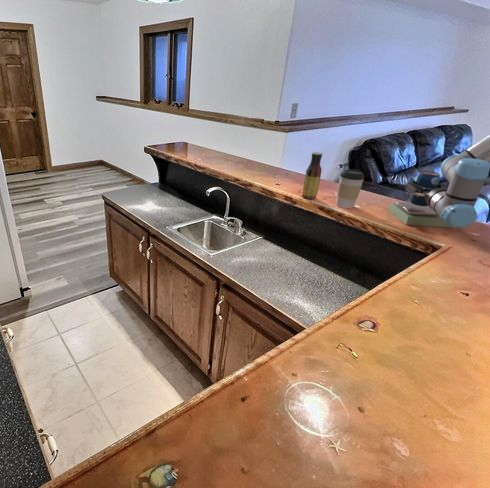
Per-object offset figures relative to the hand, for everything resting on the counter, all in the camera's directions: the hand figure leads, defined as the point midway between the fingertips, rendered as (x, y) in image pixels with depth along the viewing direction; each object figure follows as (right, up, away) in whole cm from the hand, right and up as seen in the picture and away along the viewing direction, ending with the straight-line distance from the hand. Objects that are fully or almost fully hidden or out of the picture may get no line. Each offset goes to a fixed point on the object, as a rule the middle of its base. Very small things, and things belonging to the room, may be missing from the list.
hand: (421, 182), depth 134 cm
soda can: (-2, -8, -1) cm, 9 cm away
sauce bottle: (-35, -3, +22) cm, 41 cm away
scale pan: (-2, -10, 0) cm, 11 cm away
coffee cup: (-23, -8, +13) cm, 28 cm away
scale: (-1, -14, +1) cm, 14 cm away
